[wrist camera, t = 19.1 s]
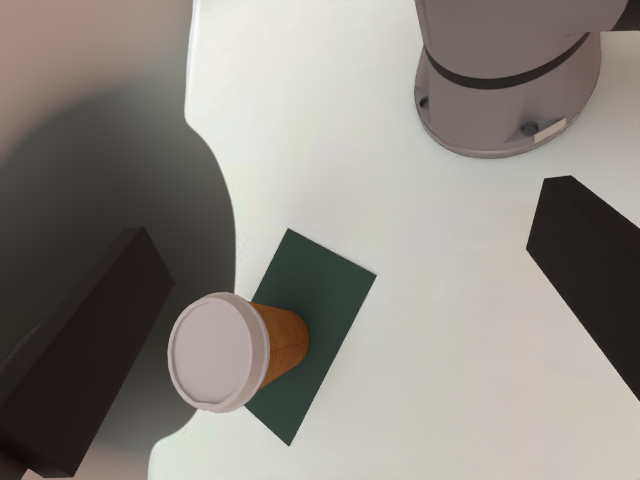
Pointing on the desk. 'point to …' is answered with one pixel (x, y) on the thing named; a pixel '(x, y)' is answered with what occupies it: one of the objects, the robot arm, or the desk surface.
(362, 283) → the desk mat
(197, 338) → the disposable coffee cup
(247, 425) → the desk surface
